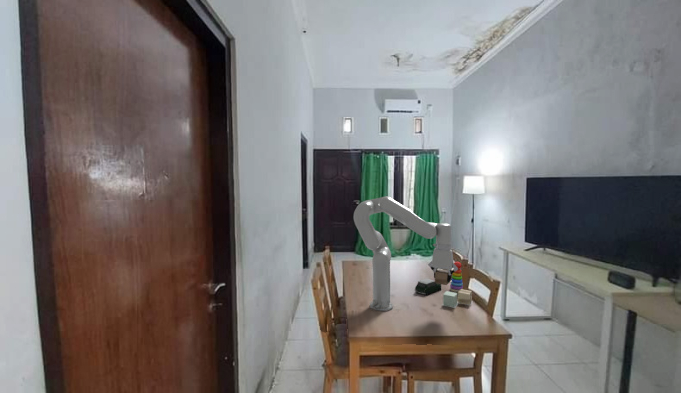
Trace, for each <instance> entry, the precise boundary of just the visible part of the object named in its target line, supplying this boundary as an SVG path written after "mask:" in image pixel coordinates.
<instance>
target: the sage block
mask: <svg viewBox="0 0 681 393" xmlns="http://www.w3.org/2000/svg"><path fill="white" fill-rule="evenodd" d="M442 297H443V298H442V304H443V305H442V306H444V305H446V306H445V307H448V306H450V307H449V308H452V307H455V306H456V305H457V302H458V292H453V291H449V290H448V291H447V290H446V291H445V292H444V293H443V296H442ZM457 306H458V305H457ZM457 306H456V307H457Z"/></svg>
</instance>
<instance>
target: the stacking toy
mask: <svg viewBox="0 0 681 393" xmlns="http://www.w3.org/2000/svg"><path fill="white" fill-rule="evenodd" d="M453 263H454V264H455V265H456V267H457V268H458V270H457V271H455V272H454V273H453V274H451V281H450V285H449V290H450V292H453V293H458V292H459V291H460V290H461V289H463V288H464V287H463V285H464V283H463V276H462V269H461V268H462V263H461V262H460V261H453ZM452 270H454V268H452ZM463 290H464V289H463Z"/></svg>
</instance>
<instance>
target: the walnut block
mask: <svg viewBox="0 0 681 393" xmlns="http://www.w3.org/2000/svg"><path fill="white" fill-rule="evenodd" d="M447 278H448V271H447V270H443V269H437V271H436V272H435V278H434V281H435V283H437V284H441V286H443V285H444V286H448V284H449V283H448V282H447Z"/></svg>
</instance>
